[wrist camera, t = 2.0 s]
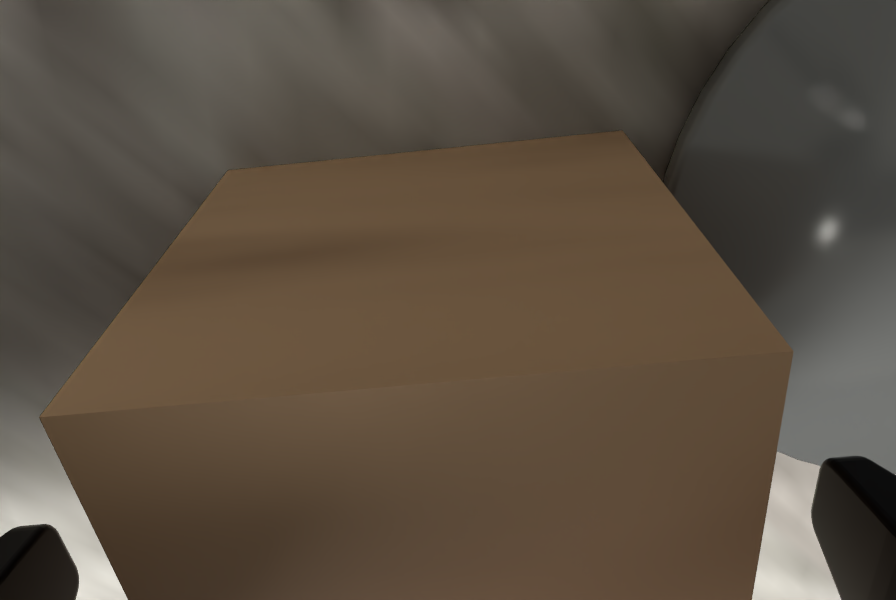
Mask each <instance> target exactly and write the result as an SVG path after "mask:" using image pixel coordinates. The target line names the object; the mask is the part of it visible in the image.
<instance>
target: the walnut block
mask: <svg viewBox="0 0 896 600" xmlns="http://www.w3.org/2000/svg"><path fill="white" fill-rule="evenodd" d="M793 352H794V351H793V350H792V349H791V347H790V346H789V345H788V343H787V342H786V341H785V340H784V338H783V337H782V336H781V334H780V333H779V332H778V331H777V329H776V328H775V327H774V325H773V324H772V323H771V321H770V320H769V319H768V318H767V316H766V315H765V314H764V312H763V311H762V310H761V309H760V307H759V306H758V305H757V303H756V302H755V301H754V300H753V298H752V297H751V296H750V294H749V293H748V292H747V291H746V289H745V288H744V287H743V285H742V284H741V283H740V281H739V280H738V279H737V278H736V276H735V275H734V274H733V272H732V271H731V270H730V269H729V267H728V266H727V265H726V263H725V262H724V261H723V260H722V258H721V257H720V256H719V254H718V253H717V252H716V250H715V249H714V248H713V247H712V245H711V244H710V243H709V241H708V240H707V239H706V238H705V236H704V235H703V234H702V232H701V231H700V230H699V229H698V227H697V226H696V225H695V223H694V222H693V221H692V220H691V218H690V217H689V216H688V214H687V213H686V212H685V210H684V209H683V208H682V207H681V205H680V204H679V203H678V201H677V200H676V199H675V198H674V196H673V195H672V194H671V192H670V191H669V190H668V189H667V187H666V186H665V185H664V183H663V182H662V181H661V179H660V178H659V177H658V176H657V174H656V173H655V172H654V170H653V169H652V168H651V167H650V165H649V164H648V163H647V161H646V160H645V159H644V158H643V156H642V155H641V154H640V152H639V151H638V150H637V149H636V147H635V146H634V145H633V143H632V142H631V141H630V139H629V138H628V137H627V136H626V134H625V133H624V132H623V130H621V131H611V132H601V133H591V134H581V135H571V136H561V137H551V138H542V139H532V140H522V141H512V142H502V143H492V144H482V145H472V146H462V147H452V148H442V149H432V150H423V151H413V152H403V153H393V154H383V155H373V156H363V157H353V158H343V159H333V160H323V161H314V162H304V163H294V164H284V165H274V166H264V167H254V168H244V169H234V170H228V171H227V172H226V173H225V175H224V176H223V177H222V179H221V180H220V181H219V182H218V184H217V185H216V186H215V188H214V189H213V190H212V192H211V193H210V194H209V196H208V197H207V198H206V199H205V201H204V202H203V203H202V205H201V206H200V207H199V209H198V210H197V211H196V213H195V214H194V215H193V216H192V218H191V219H190V220H189V222H188V223H187V224H186V226H185V227H184V228H183V230H182V231H181V232H180V234H179V235H178V236H177V237H176V239H175V240H174V241H173V243H172V244H171V245H170V247H169V248H168V249H167V251H166V252H165V253H164V254H163V256H162V257H161V258H160V260H159V261H158V262H157V264H156V265H155V266H154V268H153V269H152V270H151V271H150V273H149V274H148V275H147V277H146V278H145V279H144V281H143V282H142V283H141V285H140V286H139V287H138V288H137V290H136V291H135V292H134V294H133V295H132V296H131V298H130V299H129V300H128V302H127V303H126V304H125V305H124V307H123V308H122V309H121V311H120V312H119V313H118V315H117V316H116V317H115V319H114V320H113V321H112V322H111V324H110V325H109V326H108V328H107V329H106V330H105V332H104V333H103V334H102V336H101V337H100V338H99V340H98V341H97V342H96V343H95V345H94V346H93V347H92V349H91V350H90V351H89V353H88V354H87V355H86V357H85V358H84V359H83V360H82V362H81V363H80V364H79V366H78V367H77V368H76V370H75V371H74V372H73V374H72V375H71V376H70V377H69V379H68V380H67V381H66V383H65V384H64V385H63V387H62V388H61V389H60V391H59V392H58V393H57V394H56V396H55V397H54V398H53V400H52V401H51V402H50V404H49V405H48V406H47V408H46V409H45V410H44V411H43V413H42V414H41V415H40V417H39V418H40V420H41V423H42V425H43V427H44V429H45V431H46V433H47V435H48V437H49V439H50V441H51V443H52V445H53V447H54V449H55V451H56V453H57V455H58V457H59V459H60V461H61V463H62V465H63V467H64V470H65V472H66V474H67V476H68V478H69V480H70V482H71V484H72V486H73V488H74V490H75V492H76V494H77V496H78V498H79V500H80V502H81V504H82V506H83V508H84V510H85V512H86V515H87V517H88V519H89V521H90V523H91V525H92V527H93V529H94V531H95V533H96V535H97V537H98V539H99V541H100V543H101V545H102V547H103V549H104V551H105V553H106V555H107V557H108V559H109V562H110V564H111V566H112V568H113V570H114V572H115V574H116V576H117V578H118V580H119V582H120V584H121V586H122V588H123V590H124V592H125V594H126V596H127V598H128V600H752V594H753V589H754V583H755V577H756V571H757V565H758V559H759V553H760V547H761V541H762V535H763V529H764V523H765V517H766V512H767V506H768V500H769V494H770V488H771V482H772V476H773V470H774V464H775V458H776V452H777V446H778V441H779V435H780V429H781V423H782V417H783V411H784V405H785V399H786V393H787V387H788V381H789V375H790V370H791V364H792V358H793Z"/></svg>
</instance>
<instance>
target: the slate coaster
mask: <svg viewBox="0 0 896 600" xmlns="http://www.w3.org/2000/svg"><path fill="white" fill-rule="evenodd" d="M663 183H664V185H665V186H666V187H667V189H668V190H669V191H670V192H671V194H672V195H673V196H674V198H675V199H676V200H677V201H678V203H679V204H680V205H681V207H682V208H683V209H684V210H685V212H686V213H687V214H688V216H689V217H690V218H691V220H692V221H693V222H694V223H695V225H696V226H697V227H698V229H699V230H700V231H701V232H702V234H703V235H704V236H705V238H706V239H707V240H708V241H709V243H710V244H711V245H712V247H713V248H714V249H715V250H716V252H717V253H718V254H719V256H720V257H721V258H722V260H723V261H724V262H725V263H726V265H727V266H728V267H729V269H730V270H731V271H732V272H733V274H734V275H735V276H736V278H737V279H738V280H739V281H740V283H741V284H742V285H743V287H744V288H745V289H746V291H747V292H748V293H749V294H750V296H751V297H752V298H753V300H754V301H755V302H756V303H757V305H758V306H759V307H760V309H761V310H762V311H763V312H764V314H765V315H766V316H767V318H768V319H769V320H770V321H771V323H772V324H773V325H774V327H775V328H776V329H777V331H778V332H779V333H780V334H781V336H782V337H783V338H784V340H785V341H786V342H787V343H788V345H789V346H790V347H791V349H792V350H793V351H794V352H793V358H792V364H791V370H790V375H789V381H788V387H787V393H786V399H785V405H784V411H783V417H782V423H781V429H780V435H779V441H778V446H777V451H778V452H780V453H783V454H785V455H788V456H790V457H792V458H795V459H797V460H801V461H805V462H808V463H812V464H816V465H820V466H821V464H822V463H823V462H824V461H825V460H826V459H828V458H833V457H845V456H863V457H866V458H868V459H870V460H872V461H873V462H875V463H877V464H878V465H880V466H882V467H883V468H885V469H886V470H888V471H890V472H891V473H893V474H896V0H770V1H769V2H768V3H767V4H766V5H765V6H764V7H763V8H762V9H761V10H760V12H759V13H758V14H757V15H756V16H755V18H754V19H753V20H752V21H751V23H750V24H749V25H748V26H747V27H746V29H745V30H744V31H743V32H742V34H741V35H740V36H739V37H738V38H737V40H736V41H735V42H734V43H733V44H732V46H731V47H730V48H729V49H728V51H727V53H726V54H725V56H724V57H723V59H722V60H721V62H720V63H719V65H718V66H717V68H716V69H715V71H714V72H713V74H712V75H711V77H710V79H709V80H708V82H707V83H706V85H705V86H704V88H703V89H702V91H701V93H700V95H699V97H698V99H697V101H696V103H695V105H694V106H693V108H692V110H691V112H690V114H689V116H688V118H687V120H686V122H685V124H684V126H683V128H682V130H681V132H680V135H679V137H678V140H677V143H676V146H675V148H674V151H673V154H672V157H671V160H670V162H669V165H668V168H667V171H666V173H665V177H664V182H663Z"/></svg>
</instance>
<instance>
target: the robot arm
mask: <svg viewBox="0 0 896 600" xmlns="http://www.w3.org/2000/svg"><path fill="white" fill-rule="evenodd" d="M811 518H812V524H813V528H814V531H815V534H816V536H817V539H818V541H819V544H820V546H821V549H822V551H823V554H824V556H825V559H826V562H827V564H828V567H829V569H830V572H831V574H832V577H833V579H834V582H835V584H836V587H837V589H838V592H839V595H840V597H841V600H896V475H895V474H893V473H891V472H890V471H888V470H886V469H885V468H883V467H882V466H880V465H878V464H877V463H875V462H873V461H872V460H870V459H868V458H866V457H863V456H845V457H833V458H828V459H826V460H825V461H824V462H823V463H822V464H821V467H820V471H819V475H818V480H817V485H816V489H815V494H814V499H813V503H812V509H811ZM78 587H79V575H78V570H77V568H76V565H75V563H74V562H73V560H72V558H71V556H70V554H69V552H68V550H67V548H66V546H65V544H64V543H63V541H62V539H61V537H60V535H59V533H58V531H57V530H56V529H55V528H54V527H52V526H51V525H47V524H40V525H29V526H19V527H16V528H13V529H11V530H10V531H8V532H7V533H5V534H4V535H3V536H1V537H0V600H76V596H77V592H78Z"/></svg>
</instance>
